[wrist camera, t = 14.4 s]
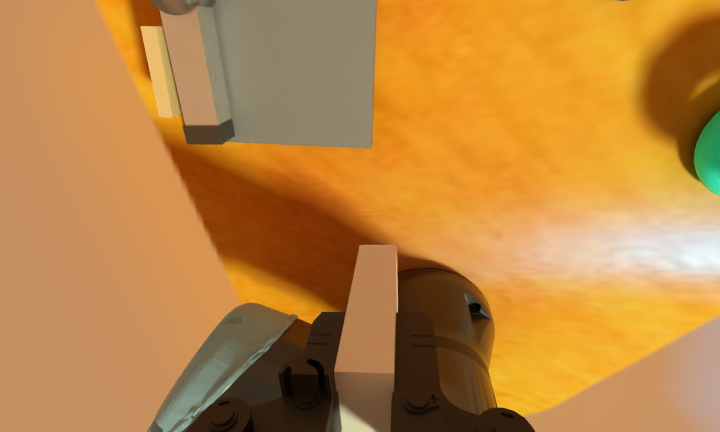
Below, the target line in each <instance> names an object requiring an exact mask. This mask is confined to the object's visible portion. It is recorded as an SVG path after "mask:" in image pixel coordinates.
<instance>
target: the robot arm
mask: <svg viewBox="0 0 720 432" xmlns="http://www.w3.org/2000/svg"><path fill="white" fill-rule="evenodd" d="M494 335H495V331H494V322H493V318H492V314H491V311H490V308H489V305H488V302H487V300H486V299H485V297H484V295H483V294H482V293H481V291H480V290H479V289H478V288H477V287H476V286H475V285H473V284H472V283H471V282H469V281H468V280H466V279H465V278H463V277H461V276H459V275H457V274H454V273H451V272H448V271H444V270H439V269H432V268H419V269H411V270H406V271H402V272H399V273H397V245H360V246H359V251H358V256H357V261H356V266H355V271H354V276H353V281H352V286H351V291H350V295H349V300H348V305H347V310H346V312H322V313H321V314H320V315H319V316H318V317H317V318H316V319H315V320H314V321H313V324H310V323H307V322H305V321H303V320H300V319H298V316H297V315H294V314H291V315H288V314H285V313H282V312H280V311H277V310H274V309H272V308H269V307H266V306H263V305H261V304H257V303H246V304H242V305H240V306H238V307H236V308H235V309H233V310H232V311H231V312H230V313H229V314H227V315H226V317H224V319H223V320H222V321H221V322H220V323H219V324H218V326H217V327H216V328H215V329H214V330H213V332H212V333H211V334H210V336H209V337H208V338H207V340H206V341H205V342H204V343H203V345H202V346H201V347H200V349H199V350H198V352H197V353H196V354H195V356H194V357H193V358H192V360H191V361H190V363H189V364H188V366H187V367H186V368H185V370H184V371H183V373H182V374H181V376H180V377H179V379H178V380H177V382H176V383H175V385H174V386H173V388H172V389H171V391H170V392H169V394H168V395H167V397H166V399H165V400H164V402H163V403H162V405H161V407H160V409H159V410H158V412H157V415H156V417H155V419H154V421H153V423H152V425H151V426H150V427H149V429H148V431H147V432H535V431H534V429H533V428H532V426H531V425H530V424H529V423H528V421H527V420H526V419H525V418H524V417H522V416H521V415H519V414H518V413H516V412H515V411H512V410H509V409H506V408H498V407H497V403H496V399H495V395H494V391H493V388H492V384H491V380H490V376H489V372H488V370H489V364H490V359H491V353H492V348H493V342H494Z"/></svg>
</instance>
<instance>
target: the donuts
mask: <svg viewBox="0 0 720 432" xmlns="http://www.w3.org/2000/svg"><path fill="white" fill-rule="evenodd" d="M694 165H695V170H696V173H697V175H698V177H699V179H700V181H701V182H702V183H703V184H704V185H705V187H707V188H708V189H709V190H710V191H712V192H713V193H715V194H717V195H719V196H720V111H718V112H717V113H716V114H715V115H714V116H713V117H712V119H711V120H710V121H709V122H708V123H707V125H706V126H705V128H704V129H703V131H702V133H701V134H700V136H699V138H698V141H697V144H696V147H695V152H694Z"/></svg>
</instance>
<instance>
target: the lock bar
mask: <svg viewBox="0 0 720 432" xmlns="http://www.w3.org/2000/svg"><path fill="white" fill-rule="evenodd" d="M150 1H151V3H152V4H153V5H154V6H155V7H156V8H158V9H159V10H160V15H161V19H162V24H163V28H164V33H165V37H166V42H167V46H168V51H169V55H170V60H171V64H172V69H173V73H174V77H175V82H176V86H177V91H178V95H179V100H180V104H181V109H182V113H183V118H184V122H185V126H183V128H184V133H185V137H186V142H187V144H223V143H225V142H226V141H228V140H229V139H231V138H233V137H234V136H235V132H234V126H233V120H232V119H231V114H230V108H229V102H228V97H227V91H226V85H225V79H224V73H223V67H222V61H221V56H220V50H219V44H218V38H217V32H216V26H215V20H214V14H213V9H212V7H213V6H214V4H215V1H216V0H150Z"/></svg>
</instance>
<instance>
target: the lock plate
mask: <svg viewBox="0 0 720 432" xmlns="http://www.w3.org/2000/svg"><path fill="white" fill-rule="evenodd" d="M376 7H377V0H216V1H215V4H214V6H213V7H212V9H213V14H214V20H215V26H216V32H217V38H218V44H219V50H220V56H221V61H222V67H223V73H224V79H225V85H226V91H227V97H228V102H229V108H230V114H231V119H232V120H233V126H234V132H235V136H234V137H233V138H231V139H229V140H228V141H226V142H243V143H264V144H284V145H305V146H326V147H346V148H367V149H371V147H372V130H373V99H374V68H375V38H376ZM140 27H141V32H142V37H143V42H144V46H145V51H146V56H147V61H148V66H149V70H150V75H151V80H152V85H153V90H154V94H155V99H156V104H157V109H158V114H159V117H171V118H173V117H175V116H178V115H180V114H183V113H182V109H181V104H180V100H179V95H178V91H177V86H176V82H175V77H174V73H173V69H172V64H171V60H170V55H169V51H168V46H167V42H166V37H165V33H164V28H163V26H140Z"/></svg>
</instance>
